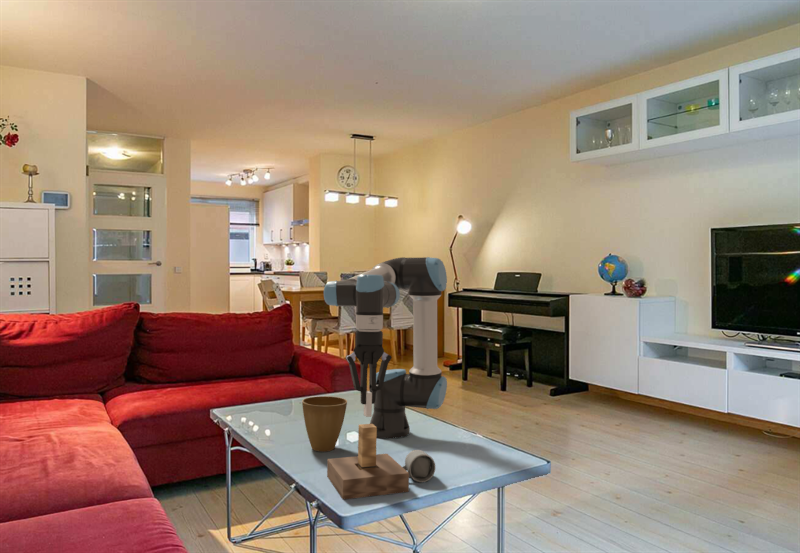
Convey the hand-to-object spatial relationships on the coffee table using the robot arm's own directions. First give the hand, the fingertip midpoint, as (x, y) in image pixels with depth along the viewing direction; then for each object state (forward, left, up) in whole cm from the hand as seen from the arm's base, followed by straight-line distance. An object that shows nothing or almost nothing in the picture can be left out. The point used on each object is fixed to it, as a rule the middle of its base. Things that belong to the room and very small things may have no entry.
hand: (367, 415), depth 159 cm
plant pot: (+4, -36, -19) cm, 41 cm away
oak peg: (0, 0, -18) cm, 18 cm away
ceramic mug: (-15, -1, -19) cm, 24 cm away
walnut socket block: (0, 0, -19) cm, 19 cm away
